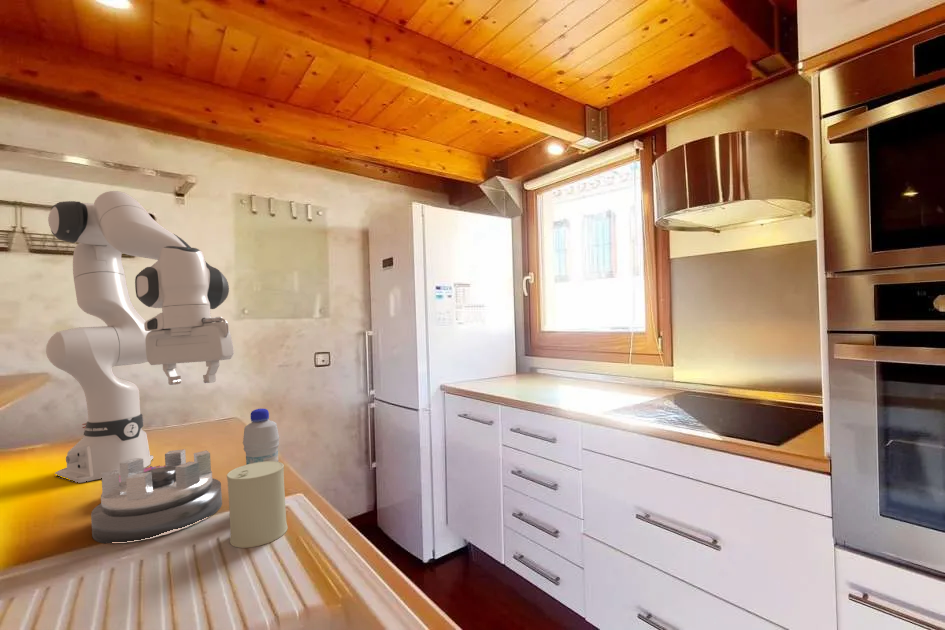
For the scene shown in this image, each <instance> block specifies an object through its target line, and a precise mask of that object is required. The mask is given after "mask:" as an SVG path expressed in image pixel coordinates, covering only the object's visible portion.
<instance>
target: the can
mask: <svg viewBox="0 0 945 630" xmlns="http://www.w3.org/2000/svg"><path fill="white" fill-rule="evenodd" d="M284 467H285V465H284V463H282V462H281V461H278V462H277V461H265V462H257V463H252V464H247V465H246V464H245V465H241V466H238V467H236V468H233V469H232V470H230V471H229V472H227V474H226V481H227V493H228V506H229V507H228V509H229V529H230V531H229V532H230V535H229V537H230V538H229V543H230V545H231V546H233V547H235V548H241V549H246V548H247V549H248V548H256V547H259V546H263V545H267V544H270V543H272V542H274V541H276V540H278V539H280V538H281V537H283V536H284V535H285V534H286V533H287V532H288V524H287V512H286V511H287V510H286V493H285V491H286V490H285V473H284V471H285V469H284Z"/></svg>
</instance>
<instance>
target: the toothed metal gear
mask: <svg viewBox="0 0 945 630" xmlns="http://www.w3.org/2000/svg"><path fill="white" fill-rule="evenodd" d="M164 463H165V464H164V466H165V467H161V468H156V469H152V470H149V471H146V472H144V465H143V459H141V458H133V459H130V460H127V461H124V462H121V463H120V481H121V482H119V472H118V470H113V471H108V472H104V473H101V475H102V479H101V489H102V490H101V494H100V502H101V503H100V504H101V507H102V512H103V513H105V514H108V515H116V516H124V515H136V514H143V513H148V512H153V511H158V510H162V509H166V508H170V507H173V506H176V505H179V504H182V503H185V502H188V501H190V500H192V499H195V498H197V497H199V496H201V495H203V494H204V493H206V492H207V491H209V490H210V489H211V487H212V485H213V482H212V478H213V471H212V464H211V452H209V450H207V449H206V450H204V451H203V450H202V451H198V452H194V453H193V461H187V457H186V448H185V449H175V450H174V449H173V450H169V451H167V452H166V453H165V454H164Z"/></svg>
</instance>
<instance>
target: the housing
mask: <svg viewBox="0 0 945 630" xmlns="http://www.w3.org/2000/svg"><path fill="white" fill-rule="evenodd" d="M212 482H213V485H212V487H211V489H210V490H209V491H207V492H206V493H204V494H203V495H201V496H199V497H197V498H195V499H192V500H190V501H188V502H185V503H182V504H179V505H176V506H173V507H170V508H166V509H162V510H158V511H153V512H148V513H143V514H136V515H124V516H116V515H108V514H105V513H103V512H102V507H101V503H99V504H98V505H96V506H95V507H94V508H93V509H92V511H91V513H90V517H91V534H92V535H91V536H92V539H93V540H94V541H95V542H98V543H101V544H106V543H112V542H127V541H134V540H141V539H145V538H150V537H153V536H156V535H159V534H161V533H164V532H167V531H170V530H173V529H178V528H182V527H185V526H187V525H190V524H193V523H195V522H197V521H199V520H202V519H204V518H206V517H209V516H211V515H212V516H214V515H215V514H216V513H217V512H218V511H220V509H221V508H222V505H223V497H222V496H223V495H222V483H221V481H220V480H218V479H217V478H213V477H212ZM212 516H211V517H212ZM209 518H210V517H209Z"/></svg>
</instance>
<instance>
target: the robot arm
mask: <svg viewBox="0 0 945 630" xmlns="http://www.w3.org/2000/svg"><path fill="white" fill-rule="evenodd" d="M47 220H48V221H47V222H48V226H49V228H50V231H51V234H52V236H54V237H55V238H56V239H57V240H59V241H62V242H67V243H71V244H75V243H77V244H76V246H75V247H74V250H73V256H72V275H73V282H74V291H75V295H76V302H77V305H78V307H79V309H81V310H82V311H83V312H84V313H85V314H88V315H91V316H93V317H96V318H98V319H100V320H101V321H102V322H104V323H105V325H106V326H103V325H102V326H84V327H83V326H82V327H80V326H79V327H75V328H69V329H65V330H61V331H60V330H59V331H56V332H55V333H54V334H52V336H51V337H50V338H49V339H48V341H47V344H46V346H45V352H46V353H45V354H46V357H47V360H49V362H50V363H51V364H52V365H53V366H54V367H56V368H57V369H58V370H62V371H63V372H66V373H67V374H68V375H71V376H72V378H74V380H76V381H77V383H78V384H79V385H80V387H81V388H82V391H83V392H84V396H85V402H86V411H87V422H85V423H82V424H81V425H82V429H84V432H83V437H82V438H81V439H79V441H78V442H76V444H75V445H74V446H73V447H71V448H70V450H68V452H67V455H65V456H66V457H65V461H66V467H65V468H63V469H62V468H61V469H60V470H58V471H55V472H54V475H55V474H57V475H59V476H62V477H65V478H68V479H70V480H73V481H75V482H74V483H77V482H78V484H79V483H80V484H81V483H87V482H92V481H95V480H102V479H101V478H102V475H101V473H104V472H108V471H113V470H118V472H119V475H120V463H121V462H124V461H127V460H130V459H133V458H141V459H143V465H144V468H147V467H150V466H151V464H152V463H151V462H152V461H153V460H154V459H153V458H154V455H151V453H150V448H149V447H150V445H149V441H148V437H147V436H148V435H147V432H146V431H144V430H143V427H144V417H143V414H142V413H141V401H140V400H141V397H140V389H139V387H138V385H137V384H136V383H134V382H132V381H130V380H127V379H124V378H121V377H117V376H116V375H115V374H114V372H113V367H120V366H121V367H122V366H128V365H139V364H144V363H148V364H149V365H151V366H155V365H156V366H158V365H162V370H163V372H164V374H165V375H166V377H167V379H168V380H167V381H168V385H170V386H174V385H175V386H176V385H180V384H181V383H182V380H181V379H182V378H181V375H178V373H177V371H176V369H177V364H186V363H187V364H188V363H203V362H205V367H206V368H207V367H208V368H207V370H206V373H205V374H203V375H202V378H203V383H204V384H211V383H215V382H216V380H217V379H216V374H217V372H218V370H219V368H220V361H227V360H231V359H232V358H233V356H234V353H235V352H234V351H235V349H234V344H233V340H232V334H231V331H230V329H229V326H230V325H229V323H228V321H227V320H226V319H225V318H223V317H222V316H214V317H212V315H211V314H212V313H211V310H215V309H217V308H218V307H220V306H221V305H222V304H223V303H224V302H225V300H226V299H227V298H228V295H229V292H230V286H229V282H228V279H227V278H226V276H225V275H224V274H223V273H222V272H221V271H220V270H219V269H218V268H216V267H213V266H212V265H211V264H209V263H208V262H207V261H206V259H205V256H204V252H203V251H202V250H200V249H199V248H196V247H191V246H190V245H189V244H188V242H186V241H185V240H184V239H183V238H182V237H179V236H178V235H177V234H175V233H173V232H172V231H170V230H168V229H167V228H165V227H163V226H162V225H161V224H159V223H158V222H157V221H156V220H155V219H154V218H153V217H152V216H151V215H150V213H149V212H148V211H147V210H146V208H145V207H144V206H143V205H142V204H141V203H140V202H139V201H138V200H137V199H135V198H134V197H133V196H131V195H130V194H128V193H126V192H123V191H119V190H108V191H106V192H103V193H101V194H100V195H98V196H97V197H96V198H95V200H94V203H89V202H81V201H76V200H75V201H74V200H69V201H68V200H67V201H59V202H57V203H55V204H54V205H52V206H51V209H50V211H49V214H48V219H47ZM123 254H124V255H128V256H131V257H136V258H137V257H138V258H144V259H150V260H154V261H155V260H156V261H155V263H154V264H152V265H151V266H147V267H145V268H143V269H141V271H140V272H138V273H137V274H136V275H135V279H134V281H135V282H134V284H135V285H134V286H135V287H134V288H135V295H136V298H137V299H138V300H139V301H140V302H141V303H142V304H143V305H145V306H147V307H148V308H154V309H161V310H162V311H161V312H160V313H158V314H156V315H154V317H152V318H149V319H147V320H146V319H145V318H143V316H141V314H140V313H139V312H138V311H137V310H136V308H135V307H134V305H133V303H132V300H131V297H130V292H129V289H128V284H127V279H126V272H125V269H124V265H123V260H122V255H123ZM152 459H153V460H152ZM151 460H152V461H151ZM70 480H69V481H70ZM73 481H72V482H73ZM86 481H87V482H86Z"/></svg>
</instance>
